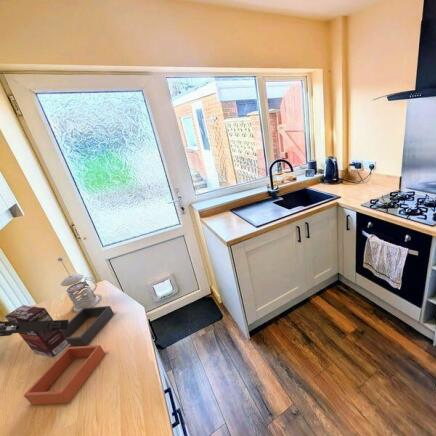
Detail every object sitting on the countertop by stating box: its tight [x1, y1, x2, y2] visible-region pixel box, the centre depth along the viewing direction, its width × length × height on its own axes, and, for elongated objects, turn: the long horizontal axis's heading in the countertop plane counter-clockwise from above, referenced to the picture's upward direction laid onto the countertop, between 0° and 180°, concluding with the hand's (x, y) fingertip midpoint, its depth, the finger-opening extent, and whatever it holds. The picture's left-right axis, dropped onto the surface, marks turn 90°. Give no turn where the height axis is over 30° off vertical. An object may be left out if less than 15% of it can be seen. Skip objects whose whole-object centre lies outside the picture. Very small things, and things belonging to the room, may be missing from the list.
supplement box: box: [5, 304, 70, 359], centre depth 71 cm, size 9×5×16 cm, turn 76°
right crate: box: [60, 305, 115, 347], centre depth 96 cm, size 12×16×4 cm
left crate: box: [23, 344, 106, 406], centre depth 78 cm, size 12×16×4 cm
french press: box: [56, 256, 100, 313], centre depth 107 cm, size 10×12×25 cm
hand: (51, 325), depth 75 cm, fingers closed on supplement box, 9 cm apart
